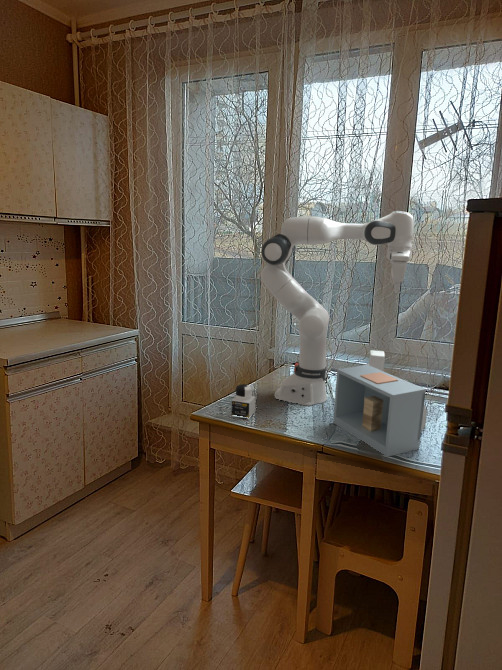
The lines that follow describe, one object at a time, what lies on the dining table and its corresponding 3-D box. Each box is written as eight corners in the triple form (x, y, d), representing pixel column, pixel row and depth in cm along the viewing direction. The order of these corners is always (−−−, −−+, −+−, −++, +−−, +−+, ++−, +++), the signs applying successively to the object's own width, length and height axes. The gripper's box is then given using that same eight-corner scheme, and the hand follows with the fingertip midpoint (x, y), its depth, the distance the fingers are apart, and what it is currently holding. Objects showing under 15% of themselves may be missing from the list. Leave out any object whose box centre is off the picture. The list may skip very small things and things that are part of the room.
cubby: (387, 456, 154) (393, 394, 149) (333, 422, 179) (337, 368, 174) (419, 448, 160) (426, 388, 155) (362, 416, 185) (367, 363, 180)
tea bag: (425, 426, 178) (428, 401, 176) (420, 432, 173) (423, 406, 170) (415, 423, 180) (418, 398, 178) (410, 429, 175) (413, 404, 172)
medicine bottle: (231, 417, 182) (231, 387, 179) (238, 410, 189) (238, 381, 186) (248, 420, 180) (249, 390, 177) (255, 413, 186) (255, 384, 183)
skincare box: (367, 381, 227) (369, 349, 223) (381, 382, 226) (384, 350, 222) (367, 387, 219) (370, 354, 215) (382, 388, 218) (385, 355, 214)
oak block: (370, 431, 165) (373, 401, 163) (362, 426, 169) (364, 397, 167) (380, 429, 167) (383, 400, 165) (372, 424, 171) (374, 395, 169)
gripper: (389, 252, 193) (386, 286, 196) (391, 256, 174) (388, 293, 177) (405, 253, 192) (402, 287, 195) (409, 256, 172) (405, 294, 175)
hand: (395, 290), depth 186 cm, fingers open, 8 cm apart
